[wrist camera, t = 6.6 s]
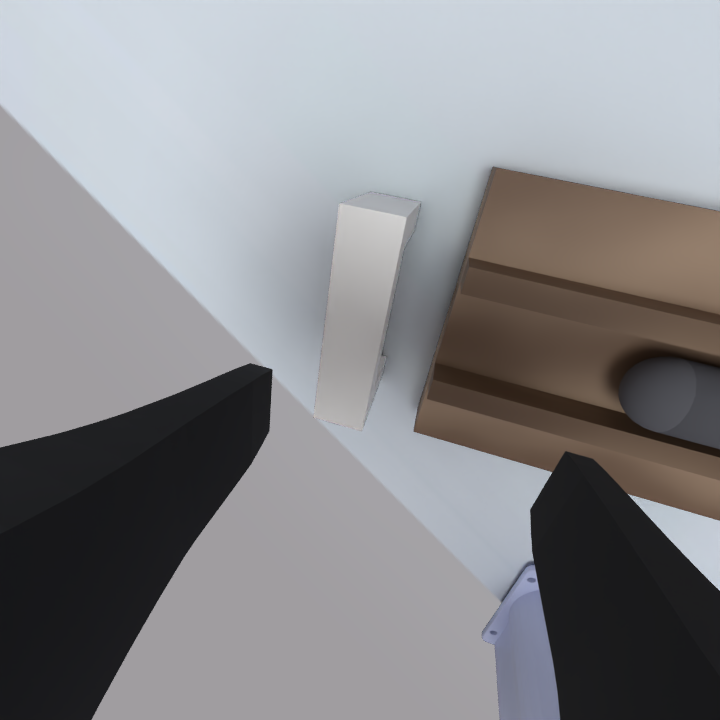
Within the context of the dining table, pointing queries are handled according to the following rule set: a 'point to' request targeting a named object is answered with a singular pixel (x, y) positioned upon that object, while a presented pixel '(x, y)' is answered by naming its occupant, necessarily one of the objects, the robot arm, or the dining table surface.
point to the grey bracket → (361, 303)
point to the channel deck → (577, 332)
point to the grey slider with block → (674, 398)
